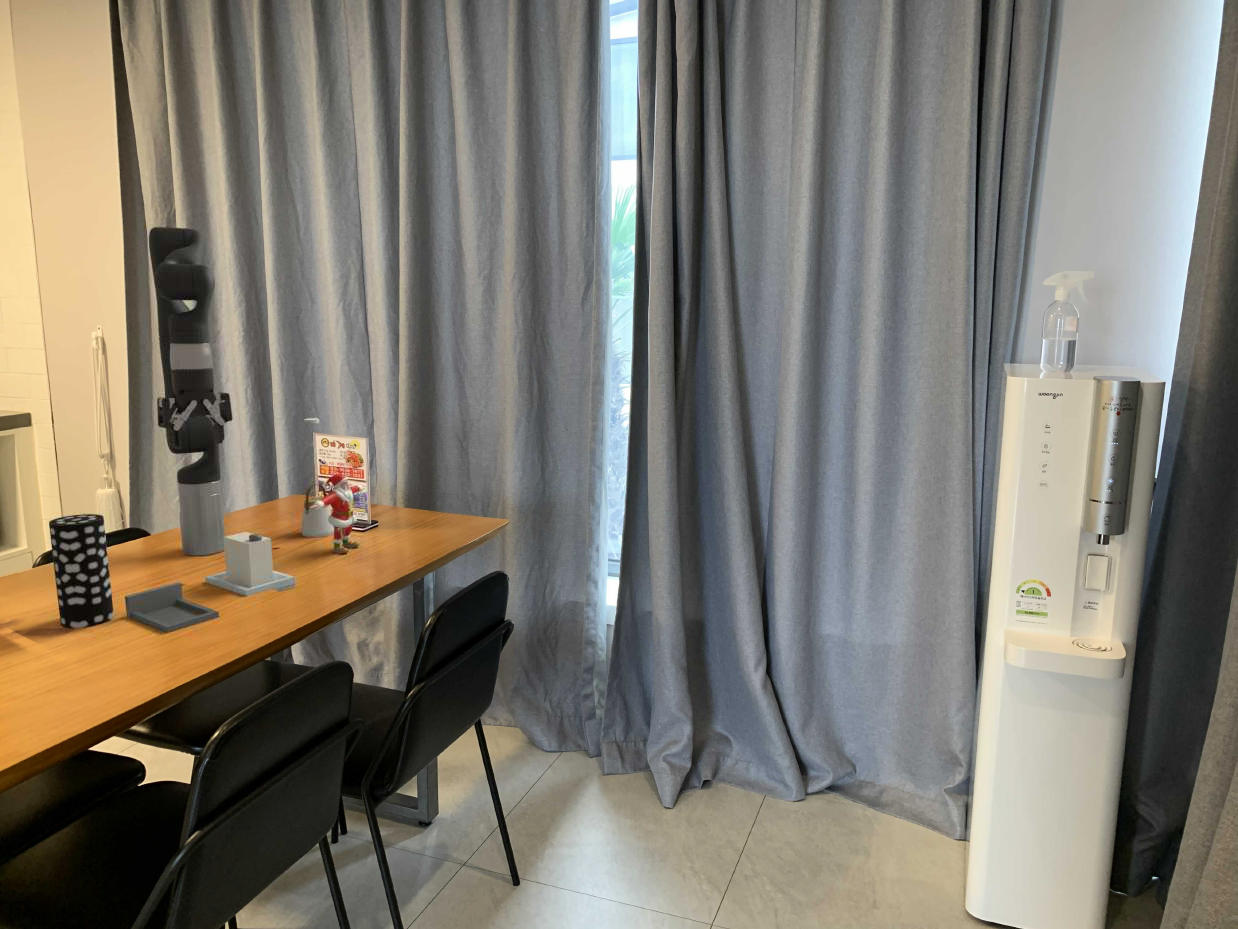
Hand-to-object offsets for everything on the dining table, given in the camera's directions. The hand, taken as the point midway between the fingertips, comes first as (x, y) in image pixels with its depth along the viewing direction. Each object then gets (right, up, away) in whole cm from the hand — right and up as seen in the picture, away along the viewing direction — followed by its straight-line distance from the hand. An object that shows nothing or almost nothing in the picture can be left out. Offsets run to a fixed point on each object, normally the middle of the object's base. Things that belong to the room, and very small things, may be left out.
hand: (198, 445), depth 171 cm
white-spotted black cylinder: (-12, -34, -17) cm, 39 cm away
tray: (+8, -30, +6) cm, 31 cm away
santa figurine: (+19, -25, +33) cm, 45 cm away
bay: (+3, -33, -15) cm, 36 cm away
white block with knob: (+8, -29, +5) cm, 31 cm away
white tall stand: (+7, -22, +48) cm, 53 cm away
